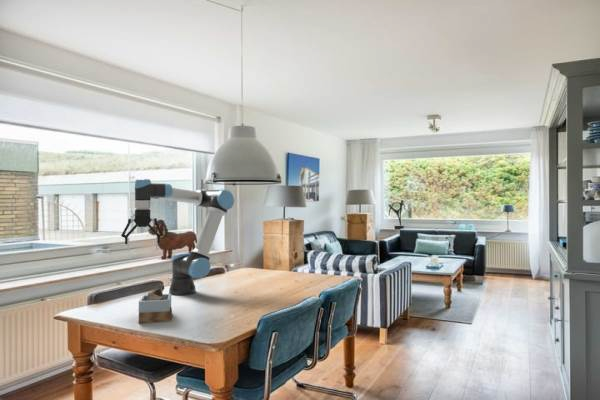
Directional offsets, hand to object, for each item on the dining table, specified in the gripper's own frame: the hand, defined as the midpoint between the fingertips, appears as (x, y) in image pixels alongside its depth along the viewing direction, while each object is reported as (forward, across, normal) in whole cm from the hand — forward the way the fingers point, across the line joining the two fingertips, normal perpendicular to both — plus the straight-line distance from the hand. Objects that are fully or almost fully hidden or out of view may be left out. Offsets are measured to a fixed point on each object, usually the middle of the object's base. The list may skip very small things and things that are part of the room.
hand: (142, 250), depth 216 cm
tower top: (+24, -6, +26) cm, 36 cm away
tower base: (+29, -6, +26) cm, 40 cm away
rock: (+22, -6, +26) cm, 35 cm away
